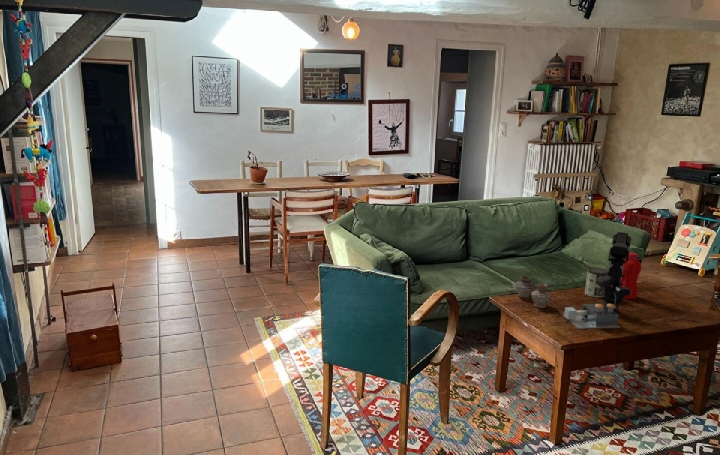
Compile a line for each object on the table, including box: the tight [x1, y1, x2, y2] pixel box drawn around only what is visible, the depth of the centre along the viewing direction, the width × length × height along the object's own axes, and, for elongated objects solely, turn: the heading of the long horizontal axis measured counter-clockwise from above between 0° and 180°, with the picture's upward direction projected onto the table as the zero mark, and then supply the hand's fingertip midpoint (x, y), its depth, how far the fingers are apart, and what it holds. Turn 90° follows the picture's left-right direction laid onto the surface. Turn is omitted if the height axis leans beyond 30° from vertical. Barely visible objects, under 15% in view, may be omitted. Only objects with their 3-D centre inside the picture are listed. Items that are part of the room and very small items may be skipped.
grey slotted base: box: [561, 303, 621, 330], centre depth 260 cm, size 21×16×7 cm
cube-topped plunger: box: [563, 306, 589, 320], centre depth 262 cm, size 20×4×4 cm, turn 97°
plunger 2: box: [607, 304, 615, 313], centre depth 256 cm, size 4×4×4 cm
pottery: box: [513, 275, 552, 309], centre depth 284 cm, size 11×25×12 cm, turn 18°
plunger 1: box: [594, 303, 604, 314], centre depth 255 cm, size 4×4×4 cm
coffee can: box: [584, 266, 609, 298], centre depth 295 cm, size 10×10×14 cm
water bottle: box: [620, 252, 642, 300], centre depth 290 cm, size 9×11×25 cm
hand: (611, 302), depth 255 cm, fingers open, 7 cm apart
